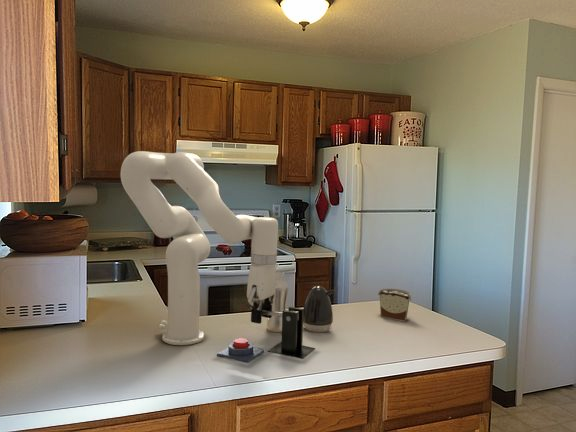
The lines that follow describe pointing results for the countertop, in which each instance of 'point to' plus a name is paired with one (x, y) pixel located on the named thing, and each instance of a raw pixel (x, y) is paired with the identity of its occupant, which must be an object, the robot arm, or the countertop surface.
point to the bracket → (292, 335)
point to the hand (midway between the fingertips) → (261, 319)
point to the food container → (394, 303)
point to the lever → (274, 313)
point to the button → (241, 343)
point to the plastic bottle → (278, 303)
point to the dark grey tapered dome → (318, 310)
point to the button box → (241, 353)
